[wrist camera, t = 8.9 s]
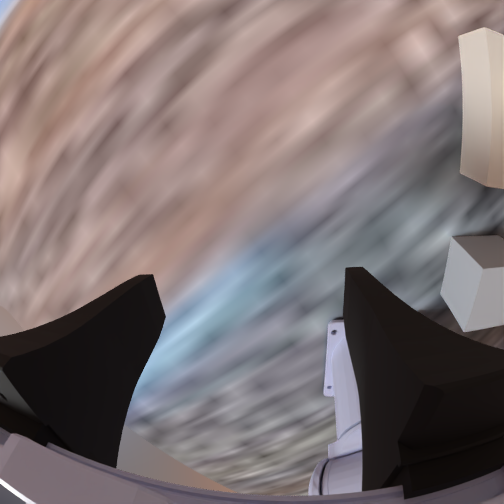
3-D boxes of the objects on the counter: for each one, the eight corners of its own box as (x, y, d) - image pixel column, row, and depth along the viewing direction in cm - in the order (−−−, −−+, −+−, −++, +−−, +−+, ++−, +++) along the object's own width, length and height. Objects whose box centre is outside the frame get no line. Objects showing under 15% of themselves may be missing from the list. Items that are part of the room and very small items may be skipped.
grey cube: (485, 288, 20) (512, 322, 16) (439, 293, 21) (463, 332, 17) (498, 234, 18) (532, 263, 14) (450, 236, 19) (483, 268, 15)
